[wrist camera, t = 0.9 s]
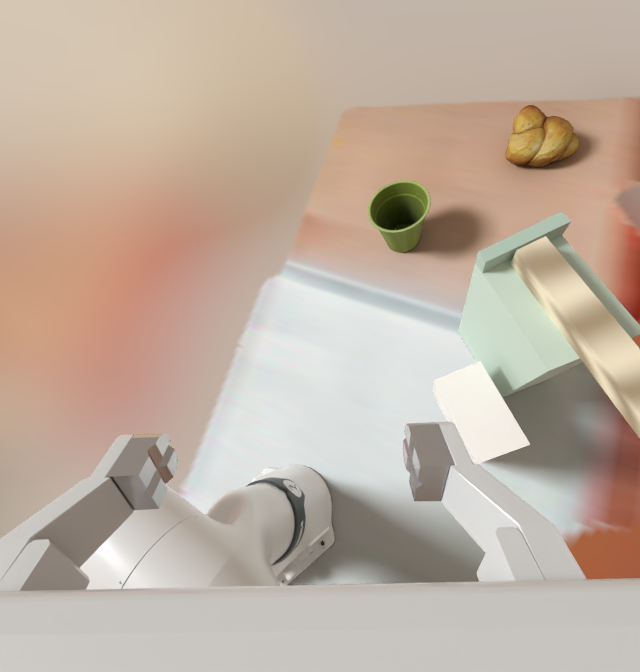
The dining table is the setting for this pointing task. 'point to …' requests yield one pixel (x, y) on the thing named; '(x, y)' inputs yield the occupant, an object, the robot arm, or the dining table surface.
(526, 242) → the pale green block
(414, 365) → the dining table surface
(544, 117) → the bread roll
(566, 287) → the rail
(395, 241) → the plant pot
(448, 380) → the block
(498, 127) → the dining table surface
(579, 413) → the dining table surface
